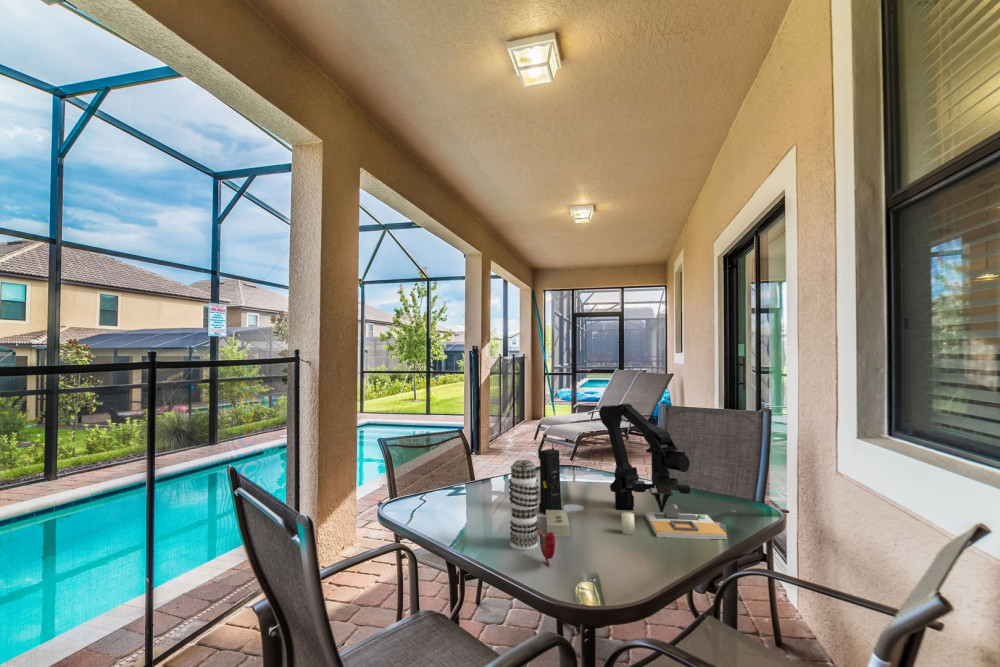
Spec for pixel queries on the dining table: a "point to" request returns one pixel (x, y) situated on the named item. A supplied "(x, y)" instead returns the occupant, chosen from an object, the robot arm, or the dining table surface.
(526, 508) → the decorative candle
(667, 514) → the block
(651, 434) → the robot arm
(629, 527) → the lockout cap
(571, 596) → the dining table surface
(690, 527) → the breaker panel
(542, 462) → the portable radio
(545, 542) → the decorative bird figurine
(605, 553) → the dining table surface
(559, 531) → the electrical outlet
